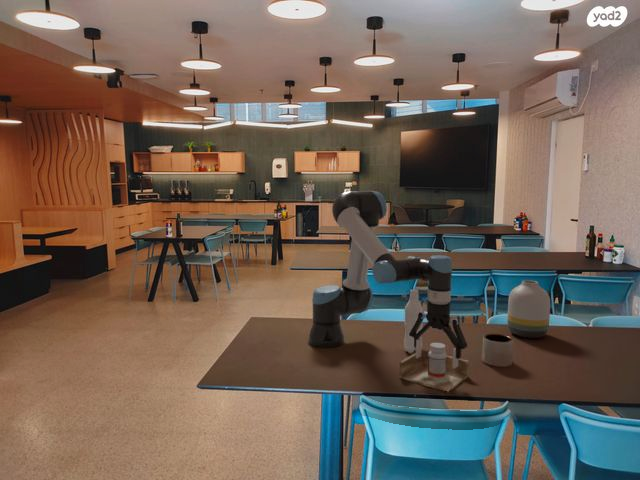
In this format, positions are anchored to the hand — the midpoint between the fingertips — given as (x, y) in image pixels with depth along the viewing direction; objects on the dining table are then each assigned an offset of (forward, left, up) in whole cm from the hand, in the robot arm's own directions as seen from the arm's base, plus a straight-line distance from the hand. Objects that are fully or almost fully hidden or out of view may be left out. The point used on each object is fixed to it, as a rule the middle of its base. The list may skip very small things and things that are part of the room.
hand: (436, 361), depth 162 cm
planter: (+11, +29, -6) cm, 31 cm away
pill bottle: (0, 0, -5) cm, 5 cm away
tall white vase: (-19, +19, -6) cm, 28 cm away
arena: (-1, +1, -6) cm, 6 cm away
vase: (+10, +70, -6) cm, 71 cm away
